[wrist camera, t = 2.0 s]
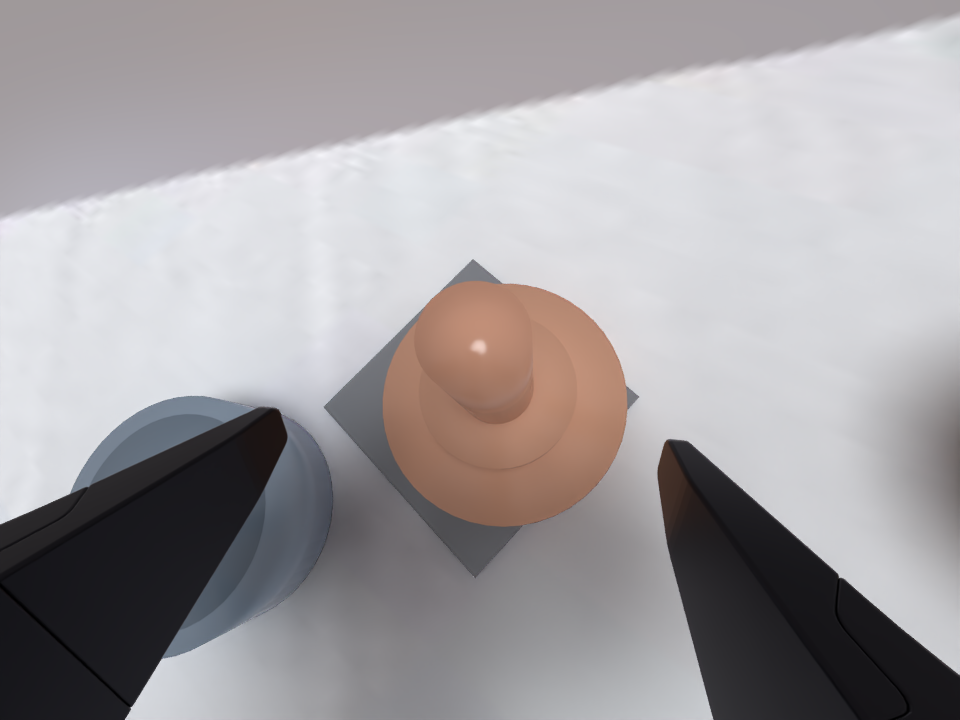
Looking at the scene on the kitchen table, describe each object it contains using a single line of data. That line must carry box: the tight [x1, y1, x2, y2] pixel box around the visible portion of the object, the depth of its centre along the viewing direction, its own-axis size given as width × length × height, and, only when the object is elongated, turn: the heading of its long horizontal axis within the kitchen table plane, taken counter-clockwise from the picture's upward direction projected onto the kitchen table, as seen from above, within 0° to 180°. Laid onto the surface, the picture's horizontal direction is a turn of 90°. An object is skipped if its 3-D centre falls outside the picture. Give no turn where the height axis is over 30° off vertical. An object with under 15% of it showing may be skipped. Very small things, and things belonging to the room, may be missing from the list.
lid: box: [383, 281, 627, 527], centre depth 15 cm, size 11×11×10 cm
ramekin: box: [70, 396, 332, 659], centre depth 19 cm, size 10×10×4 cm
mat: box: [324, 260, 639, 578], centre depth 20 cm, size 11×11×1 cm
